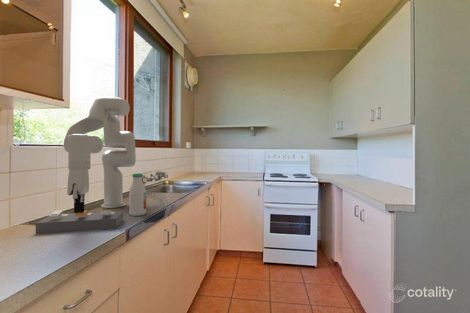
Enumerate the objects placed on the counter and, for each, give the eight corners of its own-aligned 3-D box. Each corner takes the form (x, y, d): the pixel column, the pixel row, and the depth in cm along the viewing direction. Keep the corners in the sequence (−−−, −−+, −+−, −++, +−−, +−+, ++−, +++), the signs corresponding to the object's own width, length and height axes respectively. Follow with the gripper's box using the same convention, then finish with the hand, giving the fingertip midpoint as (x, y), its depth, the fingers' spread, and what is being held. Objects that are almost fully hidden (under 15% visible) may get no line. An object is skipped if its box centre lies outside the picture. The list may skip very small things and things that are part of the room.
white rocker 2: (103, 214, 110) (103, 210, 110) (111, 213, 110) (111, 209, 110) (100, 214, 105) (100, 210, 105) (108, 213, 105) (108, 209, 106)
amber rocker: (79, 214, 107) (79, 210, 108) (87, 214, 108) (87, 210, 108) (75, 216, 103) (75, 212, 103) (83, 216, 103) (83, 211, 103)
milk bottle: (140, 216, 124) (140, 174, 123) (125, 215, 125) (125, 174, 125) (149, 212, 131) (148, 173, 131) (135, 212, 133) (135, 173, 133)
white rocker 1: (54, 213, 105) (54, 210, 105) (63, 213, 106) (62, 209, 106) (49, 219, 101) (48, 215, 100) (58, 219, 101) (57, 215, 101)
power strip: (52, 223, 111) (52, 213, 111) (123, 219, 117) (123, 210, 117) (35, 233, 97) (35, 222, 97) (116, 228, 104) (116, 218, 104)
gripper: (75, 165, 109) (75, 209, 109) (60, 166, 95) (60, 216, 95) (95, 165, 111) (95, 208, 111) (83, 166, 97) (83, 215, 96)
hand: (79, 212), depth 103 cm, fingers closed
